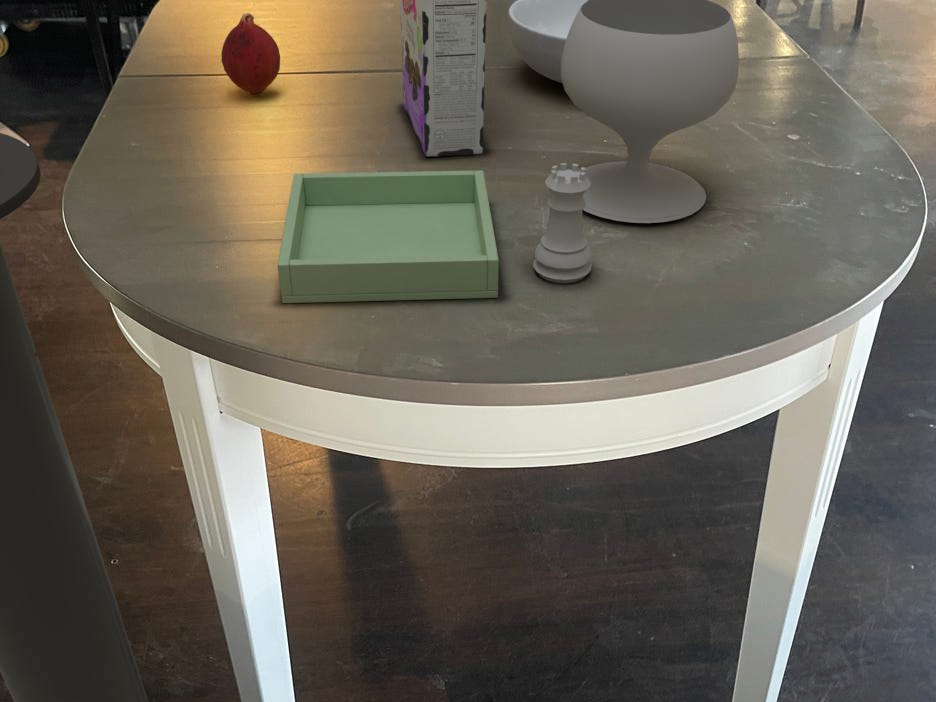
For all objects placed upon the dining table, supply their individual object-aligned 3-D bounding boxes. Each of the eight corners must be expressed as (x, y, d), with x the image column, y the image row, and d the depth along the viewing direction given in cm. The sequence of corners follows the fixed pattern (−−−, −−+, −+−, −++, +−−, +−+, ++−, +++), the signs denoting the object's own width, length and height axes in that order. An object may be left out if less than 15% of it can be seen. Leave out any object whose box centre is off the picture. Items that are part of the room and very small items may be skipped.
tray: (282, 303, 73) (277, 264, 71) (297, 208, 85) (293, 173, 83) (497, 298, 74) (498, 259, 72) (482, 205, 86) (483, 169, 84)
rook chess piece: (567, 291, 75) (575, 189, 70) (520, 272, 77) (524, 171, 72) (602, 269, 77) (612, 169, 72) (556, 251, 80) (562, 152, 74)
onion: (269, 108, 103) (258, 25, 98) (217, 101, 104) (204, 19, 99) (292, 89, 107) (284, 8, 102) (243, 83, 108) (232, 3, 103)
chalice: (565, 235, 82) (579, 41, 72) (543, 165, 92) (552, -12, 83) (735, 230, 83) (771, 38, 73) (694, 161, 93) (720, -14, 84)
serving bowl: (733, 75, 112) (744, 9, 107) (627, 129, 99) (635, 56, 95) (580, 36, 122) (585, -26, 117) (467, 80, 110) (467, 13, 105)
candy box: (401, 105, 104) (394, -74, 93) (458, 102, 105) (457, -76, 94) (423, 159, 93) (419, -36, 83) (486, 154, 94) (489, -39, 84)
